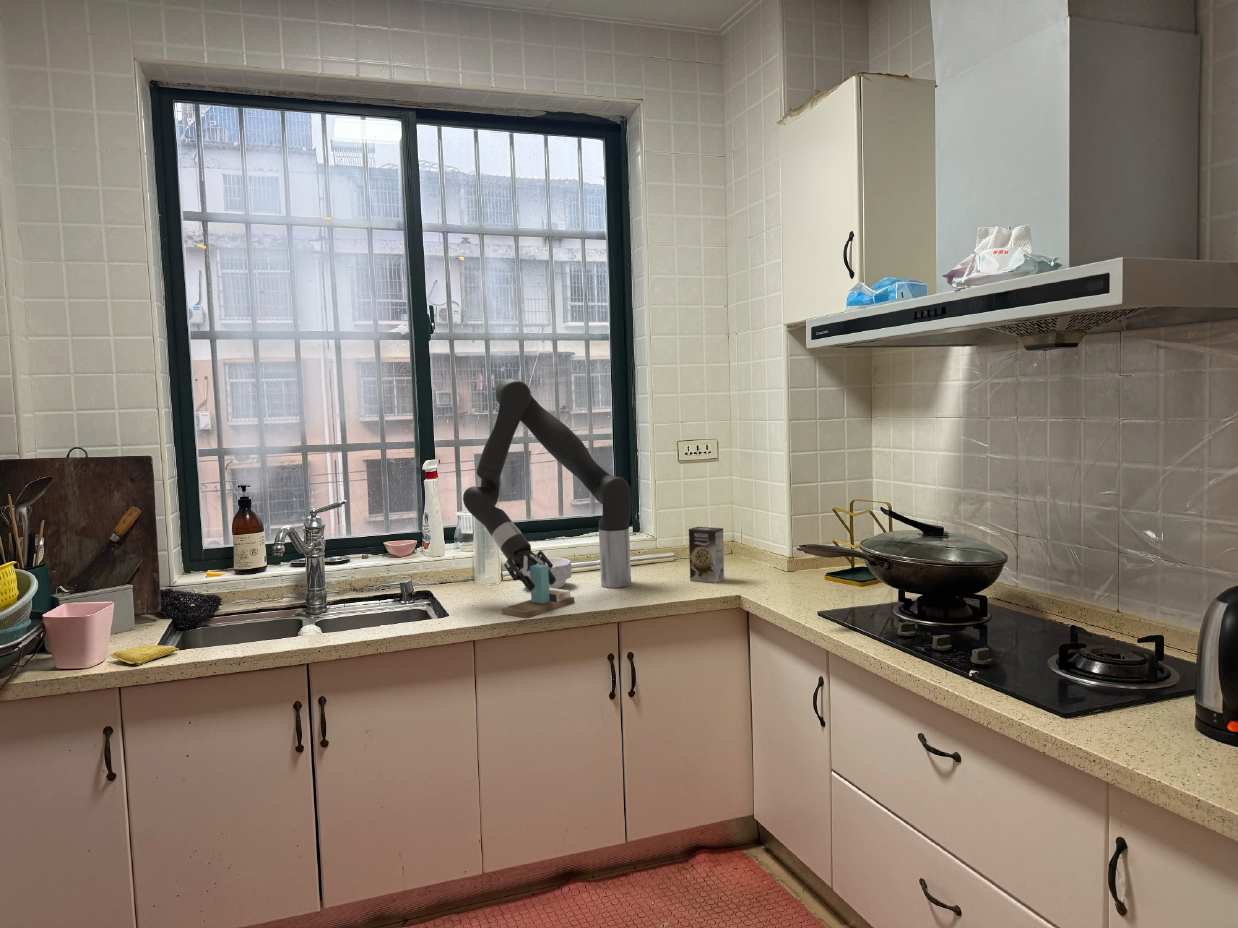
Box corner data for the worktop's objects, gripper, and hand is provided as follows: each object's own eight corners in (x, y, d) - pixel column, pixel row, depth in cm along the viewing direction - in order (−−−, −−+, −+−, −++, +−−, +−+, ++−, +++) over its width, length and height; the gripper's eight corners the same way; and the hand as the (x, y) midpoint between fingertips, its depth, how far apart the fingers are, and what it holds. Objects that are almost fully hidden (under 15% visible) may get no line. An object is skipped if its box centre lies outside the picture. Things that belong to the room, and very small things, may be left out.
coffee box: (689, 581, 261) (687, 529, 260) (698, 577, 267) (696, 525, 266) (716, 583, 257) (714, 530, 255) (725, 579, 262) (723, 527, 261)
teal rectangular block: (538, 599, 238) (537, 564, 237) (549, 601, 235) (548, 565, 234) (531, 601, 235) (529, 566, 234) (542, 603, 233) (540, 567, 232)
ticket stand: (550, 598, 245) (549, 586, 245) (574, 602, 240) (573, 589, 239) (502, 613, 230) (501, 600, 229) (526, 617, 224) (526, 604, 224)
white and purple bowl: (570, 591, 253) (569, 565, 253) (519, 593, 254) (517, 567, 253) (574, 581, 269) (573, 556, 268) (526, 582, 269) (524, 557, 268)
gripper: (499, 536, 233) (532, 582, 227) (535, 529, 244) (567, 572, 238) (486, 554, 236) (518, 599, 230) (522, 546, 248) (553, 589, 241)
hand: (543, 585), depth 234 cm, fingers open, 8 cm apart
